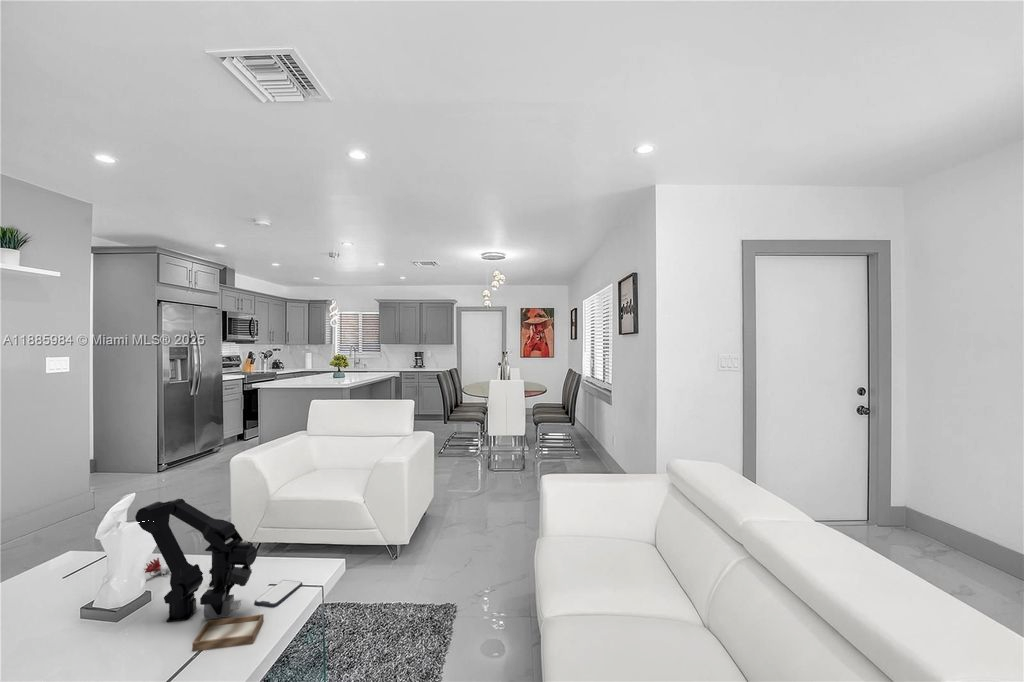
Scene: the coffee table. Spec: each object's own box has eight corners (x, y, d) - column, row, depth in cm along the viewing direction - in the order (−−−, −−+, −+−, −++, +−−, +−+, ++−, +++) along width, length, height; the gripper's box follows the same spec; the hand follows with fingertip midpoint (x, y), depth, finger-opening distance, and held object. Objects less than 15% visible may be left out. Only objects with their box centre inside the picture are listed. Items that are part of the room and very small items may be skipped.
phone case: (282, 583, 177) (252, 606, 161) (282, 579, 177) (252, 601, 161) (304, 586, 175) (275, 609, 160) (304, 581, 176) (275, 604, 160)
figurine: (171, 562, 191) (171, 546, 191) (191, 567, 187) (191, 551, 187) (130, 579, 177) (130, 562, 177) (150, 585, 173) (150, 567, 173)
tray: (192, 651, 137) (192, 643, 137) (207, 628, 148) (207, 620, 148) (253, 643, 141) (253, 635, 141) (263, 621, 152) (263, 614, 152)
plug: (201, 619, 151) (202, 603, 151) (206, 612, 155) (207, 597, 155) (237, 615, 153) (237, 600, 153) (241, 608, 157) (241, 593, 157)
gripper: (239, 574, 147) (239, 624, 147) (257, 548, 165) (256, 592, 165) (199, 578, 144) (199, 629, 144) (221, 551, 162) (221, 596, 162)
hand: (221, 610), depth 154 cm, fingers closed on plug, 4 cm apart
